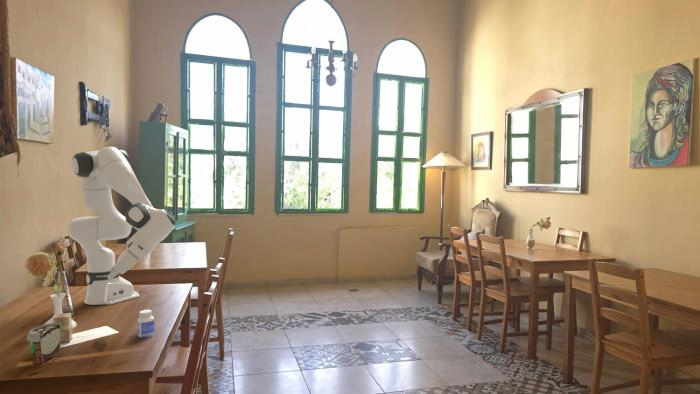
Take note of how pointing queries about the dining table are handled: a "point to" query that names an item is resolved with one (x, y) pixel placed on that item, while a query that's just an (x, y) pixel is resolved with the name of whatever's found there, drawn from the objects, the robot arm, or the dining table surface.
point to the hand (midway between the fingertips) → (110, 275)
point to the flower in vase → (55, 295)
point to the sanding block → (64, 326)
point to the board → (89, 335)
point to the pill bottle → (145, 324)
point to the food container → (44, 342)
